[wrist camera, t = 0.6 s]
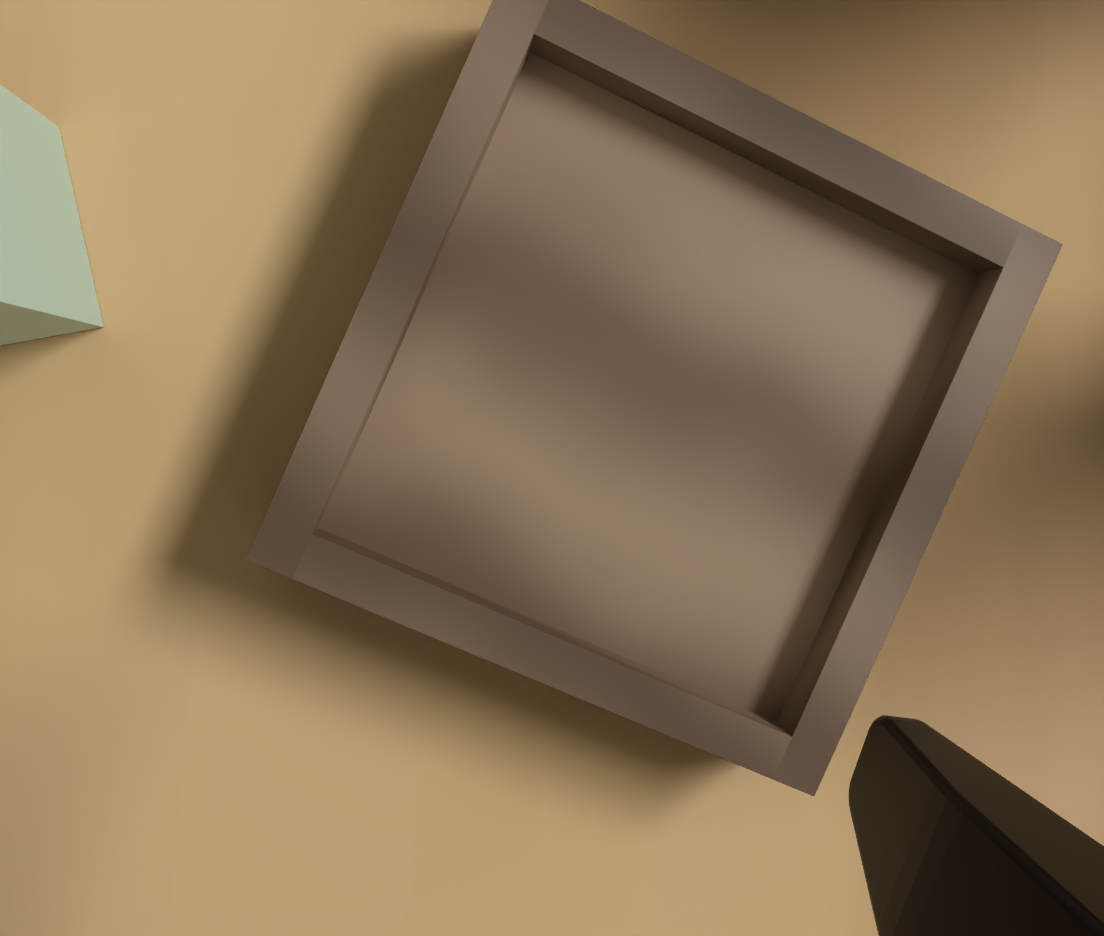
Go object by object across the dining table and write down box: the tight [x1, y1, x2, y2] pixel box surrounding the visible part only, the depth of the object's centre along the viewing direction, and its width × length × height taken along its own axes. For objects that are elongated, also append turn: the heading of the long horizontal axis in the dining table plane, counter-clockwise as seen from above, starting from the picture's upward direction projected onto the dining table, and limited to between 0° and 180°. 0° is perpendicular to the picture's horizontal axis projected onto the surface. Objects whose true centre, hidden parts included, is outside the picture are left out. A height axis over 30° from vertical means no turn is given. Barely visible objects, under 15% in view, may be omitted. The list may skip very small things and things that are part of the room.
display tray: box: [246, 0, 1063, 796], centre depth 21 cm, size 13×13×3 cm
